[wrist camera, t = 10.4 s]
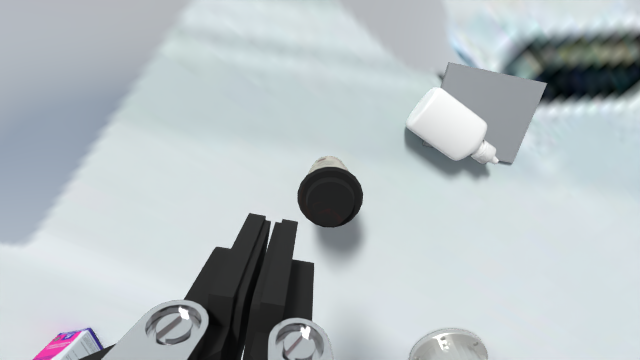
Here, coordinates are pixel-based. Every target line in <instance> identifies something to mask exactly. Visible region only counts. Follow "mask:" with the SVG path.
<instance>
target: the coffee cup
mask: <svg viewBox="0 0 640 360" xmlns="http://www.w3.org/2000/svg"><path fill="white" fill-rule="evenodd" d="M362 201H363V192H362V188H361V185H360V183H359V182H358V180H357V179H356V177H355V176H354V175H352V174H351V173H350V172H349V171H348V170H347V168H346V167H345V165H344V164H343V163H342V161H340V160H339V159H338V158H336V157H333V156H325V157H321V158H320V159H318V160H317V161H316V162H315V163H314V164H313V166H312V168H311V170H310V171H309V173H308V175H307V176H306V177H305V178H304V180H303V181H302V182H301V184H300V187H299V190H298V204H299V207H300V210H301V211H302V213H303V214H304V215H305V217H306V218H307V219H309V220H310V221H311V222H313V223H314V224H316V225H319V226H322V227H338V226H342V225H344V224H346V223H347V222H349V221H351V220H352V219H353V218H354V217H355V215H356V214H357V213H358V212H359V210H360V207H361V205H362Z"/></svg>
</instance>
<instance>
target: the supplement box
mask: <svg viewBox="0 0 640 360" xmlns="http://www.w3.org/2000/svg"><path fill="white" fill-rule="evenodd" d="M102 349H104V348H103V347H102V345H101V344H100V342H99V340H98V339H97V337H96V335H95V334H94V332H93V331H92V329H91V328H87V329H83V330H78V331H73V332H67V333H60V334H59V335H58V336H57V337H55V338H54V339H53V340H52V341H51V342H50V343H49V344H48V345H47V346H46V347H45V348H44V349H43V350H42V351H41V352H40V353H39V354H38V355H37V356H36V357H35V358H34V359H33V360H78V359H81V358H83V357H85V356H88V355H90V354H93V353H95V352H97V351H100V350H102Z"/></svg>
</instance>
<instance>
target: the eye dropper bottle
mask: <svg viewBox="0 0 640 360" xmlns="http://www.w3.org/2000/svg"><path fill="white" fill-rule="evenodd" d="M405 125H406V127H407V128H408V129H409V130H411V131H412V132H413V133H415V134H416V135H418V136H419V137H420V138H422V139H423V140H425V141H426V142H427V143H429V144H430V145H432V146H433V147H435V148H436V149H437V150H439V151H440V152H442V153H443V154H445V155H446V156H447V157H449V158H450V159H452V160H455V161H458V160H461V159H463V158H465V157H467V156H468V155H469V156H471V157H472V158H474V159H475V160H476V161H478V162H479V163H481V164H485V163H487V162H490V163H493V164H497V163H498V161H499V160H498V159H497V158H496V156H495V154H496V148H495V147H493V146H492V145H491V144H489V143H488V142H487V141H485V140H484V137H485V134H486V131H487V124H486V122H485V121H484V120H482V119H481V118H480V117H479V116H477V115H476V114H475V113H473V112H472V111H471V110H470V109H468V108H467V107H466V106H464V105H463V104H462V103H460V102H459V101H458V100H456V99H455V98H454V97H452V96H451V95H450V94H448V93H447V92H446V91H444V90H443V89H442V88H438V87H434V88H432V89H430V90H429V91H428V92H427V93H426V94H425V95H424V97H423V98H422V99H421V100H420V101H419V103H418V104H417V105H416V106H415V108H414V109H413V111H412V112H411V114H410V115H409V117H408V119H407V120H406V123H405Z"/></svg>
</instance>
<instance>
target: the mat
mask: <svg viewBox="0 0 640 360" xmlns="http://www.w3.org/2000/svg"><path fill="white" fill-rule="evenodd" d="M546 84H547V83H543V82H538V81H534V80H529V79H524V78H520V77H515V76H510V75H506V74H501V73H497V72H492V71H487V70H483V69H478V68H473V67H469V66H464V65H460V64H455V63H450V62H449V63H448V65H447V69H446V72H445V75H444V78H443V81H442V84H441V87H440V88H442V89H443V90H444V91H446V92H447V93H448V94H450V95H451V96H452V97H454V98H455V99H456V100H458V101H459V102H460V103H462V104H463V105H464V106H466V107H467V108H468V109H470V110H471V111H472V112H473V113H475V114H476V115H477V116H479V117H480V118H481V119H482V120H484V121H485V122H486V124H487V131H486V134H485V137H484V140H485V141H487V142H488V143H489V144H491V145H492V146H493V147H495V148H496V154H495V156H496V158H497V159H498V160H499V161H504V162H509V163H513V161H514V159H515V157H516V154H517V152H518V150H519V147H520V145H521V143H522V140H523V138H524V136H525V133H526V131H527V129H528V126H529V124H530V122H531V119H532V117H533V115H534V112H535V110H536V108H537V105H538V103H539V101H540V98H541V96H542V94H543V91H544V89H545V87H546ZM422 145H423V146H428V147H433V146H432V145H430V144H429V143H427V142H426V141H425V140H424V141H423V144H422ZM433 148H435V147H433Z"/></svg>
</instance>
